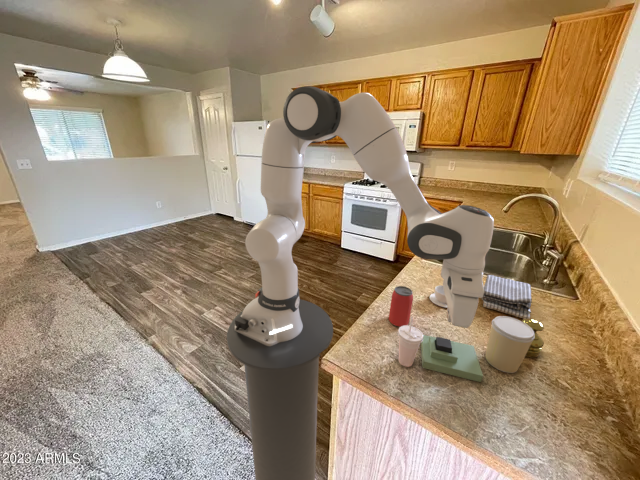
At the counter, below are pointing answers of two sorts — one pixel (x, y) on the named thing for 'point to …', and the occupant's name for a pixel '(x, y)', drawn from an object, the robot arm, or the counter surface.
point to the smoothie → (408, 343)
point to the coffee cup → (508, 343)
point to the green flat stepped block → (451, 359)
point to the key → (443, 344)
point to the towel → (507, 296)
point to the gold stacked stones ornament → (538, 341)
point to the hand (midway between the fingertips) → (450, 319)
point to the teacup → (439, 296)
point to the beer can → (401, 306)
